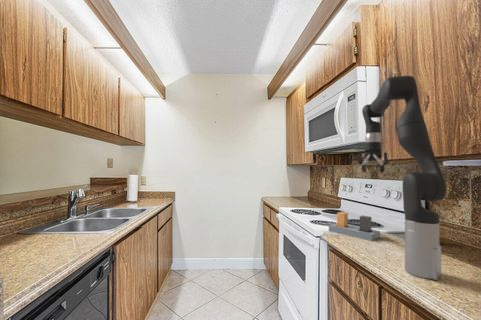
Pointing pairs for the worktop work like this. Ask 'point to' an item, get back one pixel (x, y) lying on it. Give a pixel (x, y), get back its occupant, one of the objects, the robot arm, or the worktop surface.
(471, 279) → the worktop surface
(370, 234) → the slate power strip
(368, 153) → the robot arm
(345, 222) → the orange plug
